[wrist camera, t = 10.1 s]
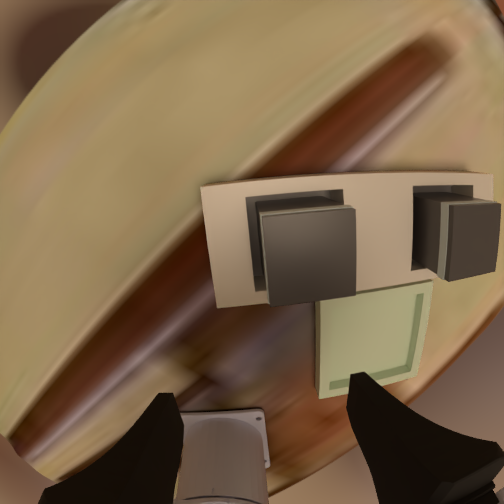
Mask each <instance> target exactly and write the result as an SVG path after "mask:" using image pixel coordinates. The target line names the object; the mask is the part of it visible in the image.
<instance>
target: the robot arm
mask: <svg viewBox="0 0 504 504" xmlns="http://www.w3.org/2000/svg"><path fill="white" fill-rule="evenodd" d="M346 409H347V412H348V416H349V420H350V423H351V427H352V429H353V432H354V434H355V436H356V439H357V441H358V443H359V446H360V448H361V450H362V452H363V455H364V457H365V459H366V462H367V464H368V466H369V469H370V472H371V475H372V478H373V481H374V485H375V489H376V493H377V497H378V500H379V504H504V487H503V488H502V489H501V490H499V491H498V492H497V493H496V494H495V493H494V491H493V489H494V488H495V484H494V482H493V481H492V480H493V479H494V478H495V477H496V475H497V474H498V473H499V471H500V470H501V469H502V468H503V466H504V452H503V451H502V449H501V448H500V446H499V445H498V444H497V442H493V441H487V440H482V439H477V438H473V437H469V436H466V435H462V434H460V433H457V432H454V431H452V430H449V429H447V428H444V427H442V426H440V425H438V424H435V423H433V422H432V421H430V420H428V419H426V418H424V417H423V416H421V415H419V414H418V413H416V412H414V411H413V410H411V409H410V408H408V407H407V406H406V405H404V404H403V403H402V402H400V401H399V400H398V399H396V398H395V397H394V396H393V395H391V394H390V393H389V392H388V391H386V390H385V389H384V388H383V387H382V386H381V385H379V384H378V383H377V382H376V381H375V380H374V379H373V378H371V377H370V376H369V375H368V374H367V373H366V372H359V373H354V374H350V382H349V391H348V399H347V406H346ZM257 417H260V418H257ZM183 444H184V450H183V456H182V463H181V470H180V476H179V483H178V490H177V497H176V499H174V500H173V498H174V489H175V483H176V478H177V473H178V468H179V463H180V458H181V453H182V448H183ZM268 467H270V460H269V451H268V443H267V435H266V426H265V418H264V411H263V410H262V409H249V410H237V411H222V412H200V413H180V412H179V409H178V406H177V403H176V401H175V398H174V395H173V393H158V394H157V396H156V397H155V398H154V399H153V401H152V402H151V403H150V405H149V406H148V407H147V409H146V410H145V411H144V413H143V414H142V415H141V416H140V418H139V419H138V420H137V421H136V422H135V424H134V425H133V426H132V427H131V428H130V430H129V431H128V432H127V433H126V434H125V435H124V436H123V437H122V438H121V439H120V440H119V441H118V442H117V443H116V444H115V445H114V446H113V447H112V448H111V449H110V450H109V451H108V452H107V453H106V454H104V455H103V456H102V457H101V458H99V459H98V460H97V461H95V462H94V463H93V464H91V465H90V466H88V467H87V468H86V469H84V470H82V471H81V472H79V473H77V474H76V475H74V476H72V477H70V478H68V479H66V480H64V481H62V482H60V483H58V484H55V485H53V486H51V487H48V488H45V489H44V491H43V493H42V496H41V498H40V500H39V502H38V504H269V501H268V491H267V480H266V470H265V468H268Z"/></svg>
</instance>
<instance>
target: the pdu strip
mask: <svg viewBox="0 0 504 504" xmlns="http://www.w3.org/2000/svg"><path fill="white" fill-rule="evenodd" d="M200 189H201V198H202V206H203V214H204V221H205V229H206V236H207V244H208V251H209V258H210V265H211V271H212V278H213V285H214V291H215V298H216V304H217V308H225V307H235V306H245V305H254V304H264V303H268V300H267V290H266V285H265V281H264V276H263V272H262V267H261V257H260V247H259V236H258V226H257V216H256V206H255V202H256V201H266V200H277V199H288V198H299V197H312V196H324V197H326V198H329V199H331V200H334V201H337V202H339V203H342V204H344V205H350V206H353V208H354V209H356V244H357V266H356V291H362V290H368V289H375V288H381V287H387V286H393V285H399V284H405V283H411V282H416V281H422V280H427V279H433V278H438V276H437V274H435V273H434V272H432V271H431V270H429V269H427V268H426V267H424V266H423V265H421V264H419V263H418V262H416V261H414V260H413V259H412V239H413V193H420V192H451V193H456V194H460V195H465V196H470V197H474V198H479V199H483V200H492V201H493V174H488V173H480V172H471V171H445V170H390V171H355V172H334V173H316V174H301V175H288V176H276V177H265V178H254V179H244V180H235V181H226V182H217V183H209V184H205V185H203V186H202V187H200Z"/></svg>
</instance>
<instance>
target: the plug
mask: <svg viewBox="0 0 504 504" xmlns="http://www.w3.org/2000/svg"><path fill="white" fill-rule="evenodd" d="M500 218H501V204H500V203H497V202H496V201H492V200H483V199H479V198H474V197H470V196H465V195H460V194H456V193H451V192H420V193H413V239H412V259H413V260H414V261H416V262H418V263H419V264H421V265H423V266H424V267H426V268H427V269H429V270H431V271H432V272H434V273H435V274H437V276H438V277H439V278H441V279H443V280H446V281H448V282H450V281H455V280H459V279H464V278H468V277H473V276H477V275H482V274H486V273H490V272H494V271H495V268H496V261H497V253H498V244H499V233H500Z"/></svg>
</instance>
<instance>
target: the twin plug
mask: <svg viewBox="0 0 504 504" xmlns="http://www.w3.org/2000/svg"><path fill="white" fill-rule="evenodd" d="M255 206H256V216H257V226H258V236H259V247H260V257H261V267H262V272H263V276H264V281H265V285H266V290H267V300H268V304H270V307H276V306H284V305H292V304H300V303H308V302H316V301H323V300H330V299H337V298H344V297H350V296H356V266H357V244H356V209H354V208H353V206H350V205H344V204H342V203H339V202H337V201H334V200H331V199H329V198H326V197H324V196H312V197H299V198H288V199H277V200H266V201H256V202H255Z"/></svg>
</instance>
